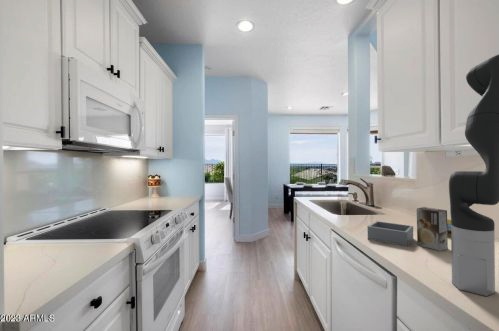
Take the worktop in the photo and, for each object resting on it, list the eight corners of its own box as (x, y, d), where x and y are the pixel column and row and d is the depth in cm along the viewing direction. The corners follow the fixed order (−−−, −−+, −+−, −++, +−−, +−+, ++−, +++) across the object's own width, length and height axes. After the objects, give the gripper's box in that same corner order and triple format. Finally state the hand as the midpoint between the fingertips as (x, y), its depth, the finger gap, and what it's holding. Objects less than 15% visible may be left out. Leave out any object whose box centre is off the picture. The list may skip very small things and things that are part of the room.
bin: (407, 246, 105) (407, 232, 105) (367, 238, 116) (367, 226, 116) (413, 238, 116) (413, 226, 116) (376, 232, 127) (376, 221, 127)
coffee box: (448, 248, 102) (448, 210, 102) (439, 251, 99) (439, 211, 99) (425, 242, 110) (424, 206, 110) (416, 244, 107) (415, 208, 107)
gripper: (492, 170, 97) (455, 196, 105) (494, 171, 86) (452, 200, 94) (512, 184, 93) (472, 210, 101) (516, 187, 83) (471, 216, 91)
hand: (462, 206), depth 98 cm, fingers open, 8 cm apart
